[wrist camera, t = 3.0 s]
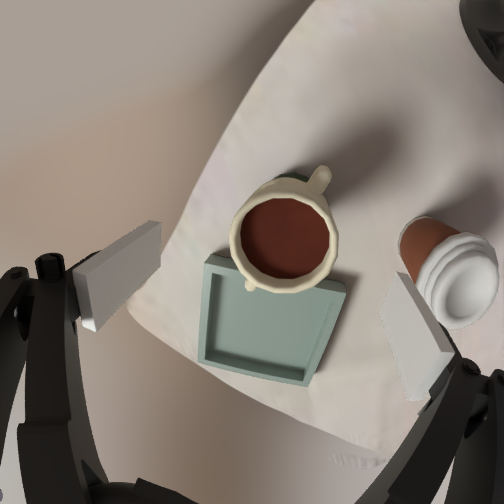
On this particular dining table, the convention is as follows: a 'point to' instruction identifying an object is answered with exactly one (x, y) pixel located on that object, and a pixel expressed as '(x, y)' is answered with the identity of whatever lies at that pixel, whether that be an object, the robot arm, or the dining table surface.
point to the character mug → (285, 234)
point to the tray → (264, 325)
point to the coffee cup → (450, 270)
